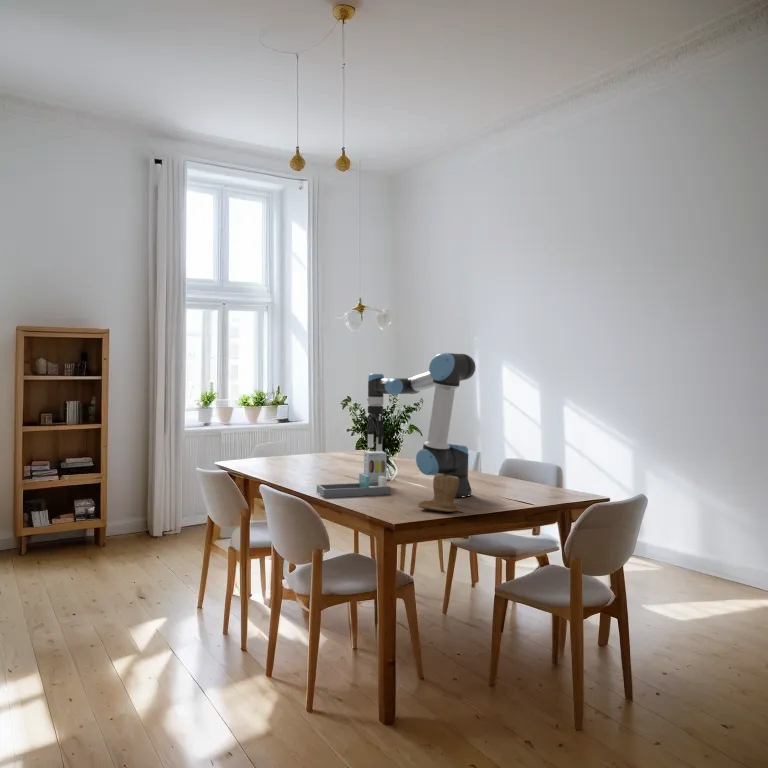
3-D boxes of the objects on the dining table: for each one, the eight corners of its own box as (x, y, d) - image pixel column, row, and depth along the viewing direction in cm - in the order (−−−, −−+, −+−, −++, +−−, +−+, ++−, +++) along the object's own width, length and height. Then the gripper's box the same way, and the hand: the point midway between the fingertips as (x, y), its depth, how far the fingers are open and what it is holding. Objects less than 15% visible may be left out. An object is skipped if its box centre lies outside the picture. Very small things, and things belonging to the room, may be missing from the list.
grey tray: (390, 494, 309) (390, 486, 309) (323, 497, 299) (323, 489, 299) (380, 489, 322) (380, 482, 322) (316, 492, 312) (316, 484, 312)
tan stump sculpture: (464, 510, 276) (465, 473, 275) (450, 515, 266) (451, 477, 265) (431, 506, 284) (432, 470, 284) (417, 510, 274) (417, 473, 274)
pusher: (388, 491, 311) (388, 475, 310) (365, 492, 307) (366, 476, 307) (380, 487, 321) (380, 472, 320) (359, 488, 317) (359, 473, 317)
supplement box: (367, 488, 325) (367, 453, 325) (362, 485, 334) (363, 450, 334) (386, 487, 328) (387, 452, 327) (381, 484, 337) (382, 450, 336)
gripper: (360, 404, 341) (359, 446, 341) (376, 407, 317) (375, 452, 318) (374, 404, 343) (374, 445, 344) (391, 407, 320) (390, 452, 320)
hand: (374, 449), depth 331 cm, fingers open, 13 cm apart
